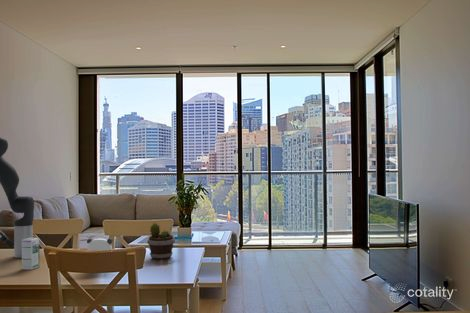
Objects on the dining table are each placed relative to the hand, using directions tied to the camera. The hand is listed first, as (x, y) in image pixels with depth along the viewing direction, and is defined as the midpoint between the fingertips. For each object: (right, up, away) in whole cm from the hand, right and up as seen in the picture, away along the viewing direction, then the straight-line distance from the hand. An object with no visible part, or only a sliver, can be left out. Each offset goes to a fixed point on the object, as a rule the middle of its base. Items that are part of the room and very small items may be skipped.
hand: (12, 245), depth 208 cm
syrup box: (+7, -12, +4) cm, 14 cm away
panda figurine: (+42, -12, 0) cm, 44 cm away
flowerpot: (+67, -12, +25) cm, 73 cm away
